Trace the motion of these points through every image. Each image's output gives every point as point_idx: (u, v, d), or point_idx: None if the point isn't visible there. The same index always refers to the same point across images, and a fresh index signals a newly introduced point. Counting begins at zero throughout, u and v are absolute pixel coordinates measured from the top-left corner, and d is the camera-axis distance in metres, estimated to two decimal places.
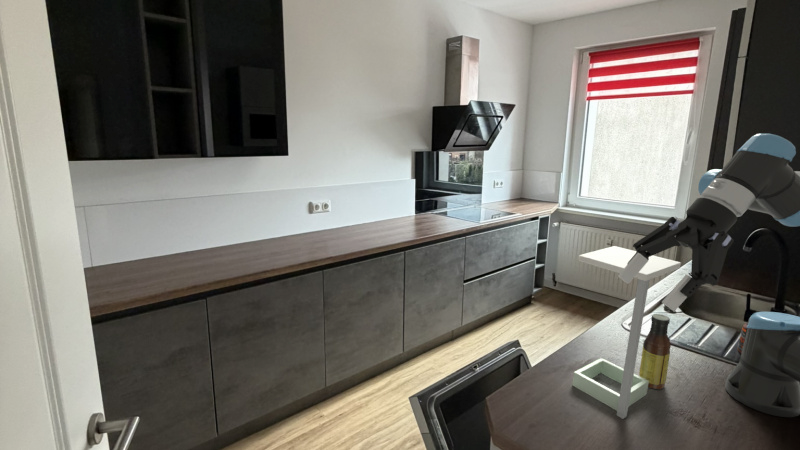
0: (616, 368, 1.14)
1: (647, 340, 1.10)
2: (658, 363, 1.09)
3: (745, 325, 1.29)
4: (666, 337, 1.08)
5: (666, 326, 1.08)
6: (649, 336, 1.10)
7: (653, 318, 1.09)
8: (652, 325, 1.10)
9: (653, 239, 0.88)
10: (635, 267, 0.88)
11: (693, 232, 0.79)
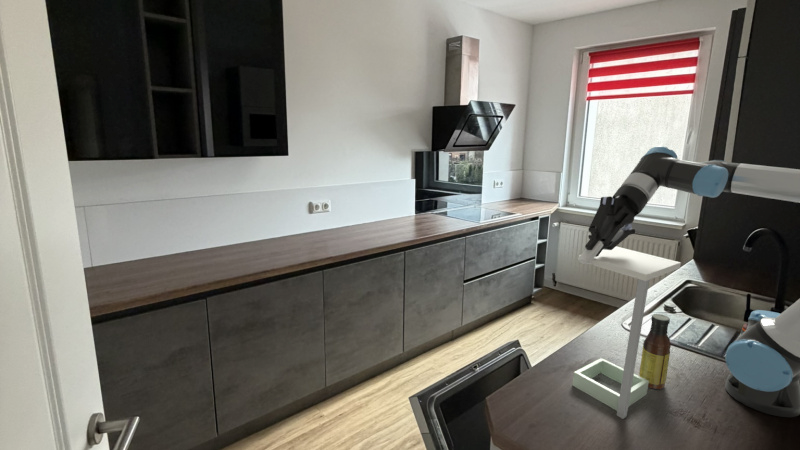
0: (616, 368, 1.14)
1: (647, 340, 1.10)
2: (658, 363, 1.09)
3: (745, 325, 1.29)
4: (666, 337, 1.08)
5: (666, 326, 1.08)
6: (649, 336, 1.10)
7: (653, 318, 1.09)
8: (652, 325, 1.10)
9: (613, 237, 1.05)
10: None
11: None
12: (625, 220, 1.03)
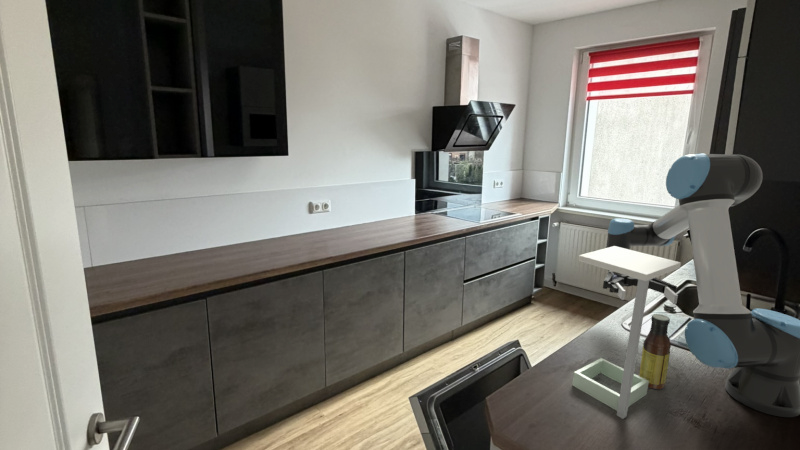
0: (616, 368, 1.14)
1: (647, 340, 1.10)
2: (658, 363, 1.09)
3: None
4: (666, 337, 1.08)
5: (666, 326, 1.08)
6: (649, 336, 1.10)
7: (653, 318, 1.09)
8: (652, 325, 1.10)
9: None
10: (668, 294, 1.20)
11: None
12: None
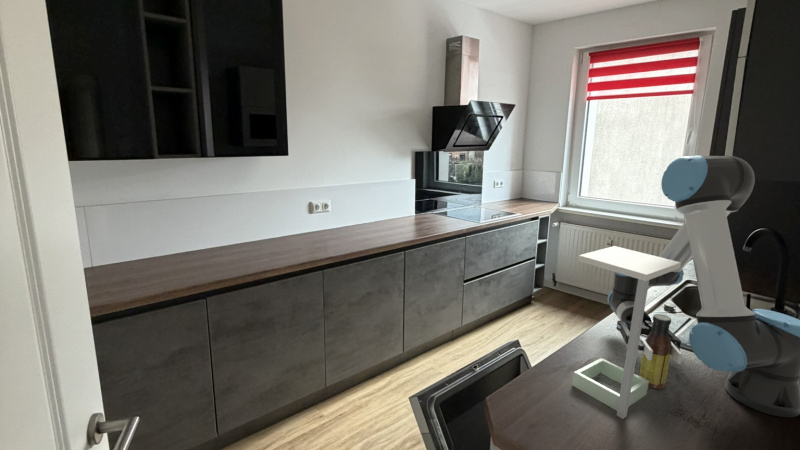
0: (616, 368, 1.14)
1: (648, 340, 1.10)
2: (658, 363, 1.09)
3: None
4: (667, 337, 1.08)
5: (667, 326, 1.07)
6: (650, 336, 1.10)
7: (654, 318, 1.09)
8: (653, 325, 1.09)
9: None
10: (672, 351, 1.09)
11: None
12: (650, 324, 1.20)
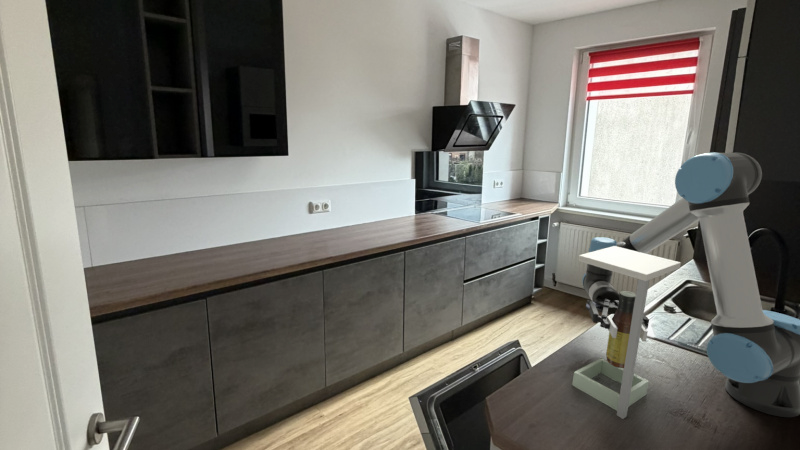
0: (616, 368, 1.14)
1: (614, 318, 1.07)
2: (624, 342, 1.05)
3: None
4: None
5: (633, 303, 1.04)
6: (616, 313, 1.06)
7: (620, 295, 1.05)
8: (619, 302, 1.06)
9: None
10: None
11: None
12: None
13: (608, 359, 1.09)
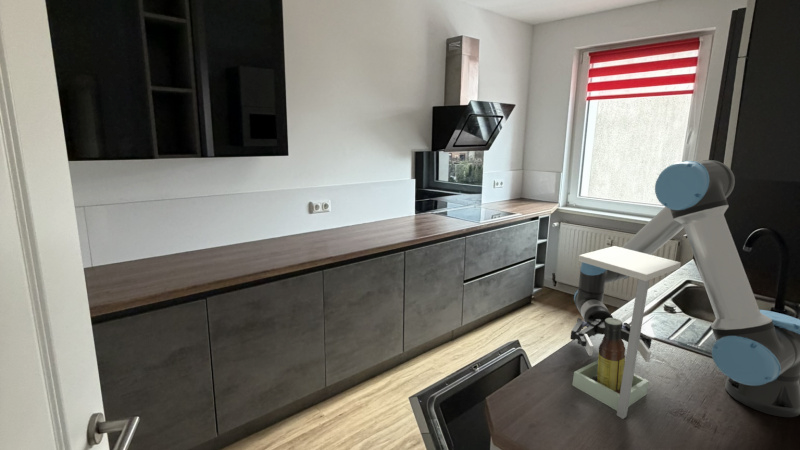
0: None
1: (601, 345, 1.07)
2: (613, 369, 1.06)
3: None
4: (620, 341, 1.05)
5: (619, 330, 1.05)
6: (603, 341, 1.07)
7: (605, 323, 1.06)
8: (605, 330, 1.06)
9: None
10: (641, 349, 1.07)
11: None
12: None
13: None
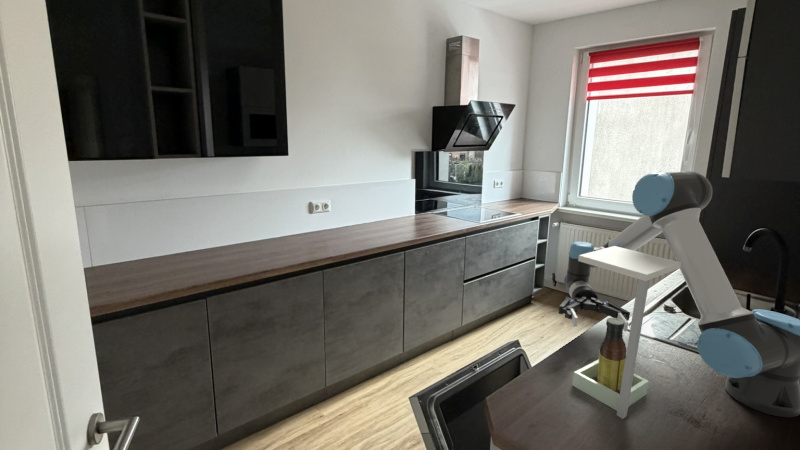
0: None
1: (602, 345, 1.07)
2: (613, 369, 1.06)
3: None
4: (621, 342, 1.05)
5: (620, 330, 1.05)
6: (604, 341, 1.07)
7: (607, 322, 1.06)
8: (607, 329, 1.07)
9: None
10: None
11: None
12: (597, 300, 1.32)
13: None
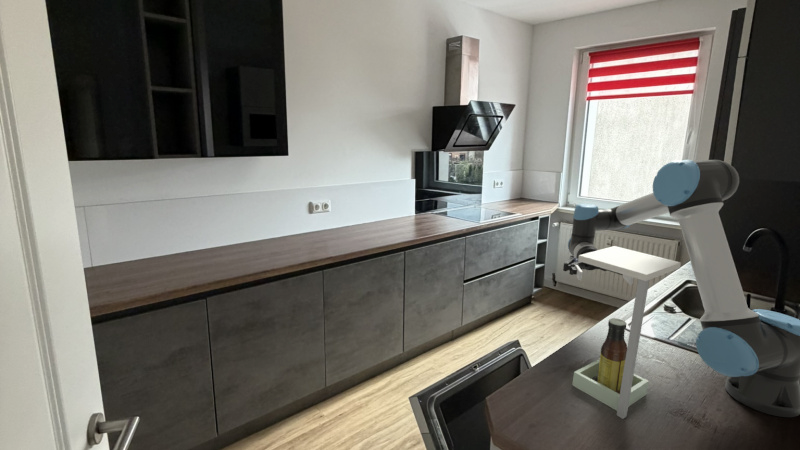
0: None
1: (604, 345, 1.07)
2: (614, 369, 1.06)
3: None
4: (622, 342, 1.05)
5: (622, 331, 1.04)
6: (606, 341, 1.07)
7: (609, 323, 1.06)
8: (609, 330, 1.06)
9: None
10: (626, 275, 1.21)
11: None
12: None
13: None
